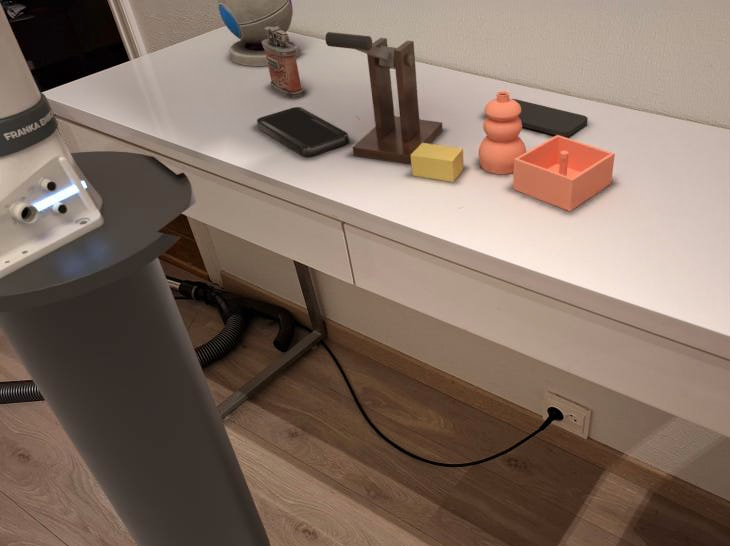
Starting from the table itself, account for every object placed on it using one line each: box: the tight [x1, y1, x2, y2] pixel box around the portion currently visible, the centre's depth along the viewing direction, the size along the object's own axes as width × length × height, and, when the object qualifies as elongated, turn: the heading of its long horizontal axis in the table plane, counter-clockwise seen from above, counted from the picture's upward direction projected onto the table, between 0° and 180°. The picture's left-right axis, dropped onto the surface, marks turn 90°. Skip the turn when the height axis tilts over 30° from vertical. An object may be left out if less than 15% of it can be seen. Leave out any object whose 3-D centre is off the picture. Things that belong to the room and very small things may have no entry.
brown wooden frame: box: [352, 37, 444, 165], centre depth 95 cm, size 12×9×14 cm
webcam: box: [217, 0, 301, 67], centre depth 124 cm, size 13×13×15 cm
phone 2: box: [485, 98, 589, 138], centre depth 104 cm, size 7×1×15 cm
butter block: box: [410, 143, 465, 183], centre depth 91 cm, size 4×6×3 cm, turn 71°
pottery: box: [478, 90, 616, 212], centre depth 88 cm, size 18×10×10 cm, turn 49°
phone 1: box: [256, 106, 350, 157], centre depth 101 cm, size 8×1×15 cm
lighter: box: [262, 26, 305, 99], centre depth 112 cm, size 8×3×10 cm, turn 42°
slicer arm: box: [324, 31, 398, 70], centre depth 86 cm, size 14×6×2 cm, turn 161°
